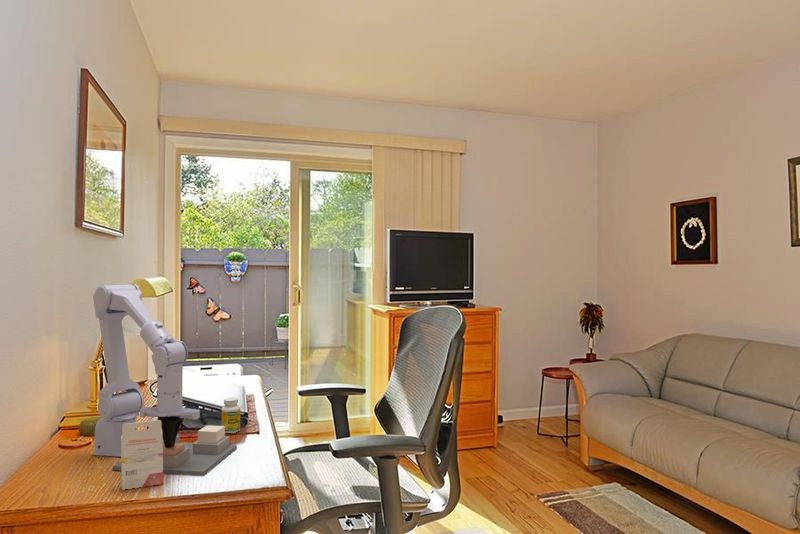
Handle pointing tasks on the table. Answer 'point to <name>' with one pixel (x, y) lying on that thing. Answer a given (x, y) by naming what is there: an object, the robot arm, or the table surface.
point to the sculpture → (88, 425)
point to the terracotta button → (173, 449)
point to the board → (195, 458)
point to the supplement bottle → (231, 415)
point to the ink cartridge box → (141, 455)
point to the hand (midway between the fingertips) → (169, 446)
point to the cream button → (211, 434)
